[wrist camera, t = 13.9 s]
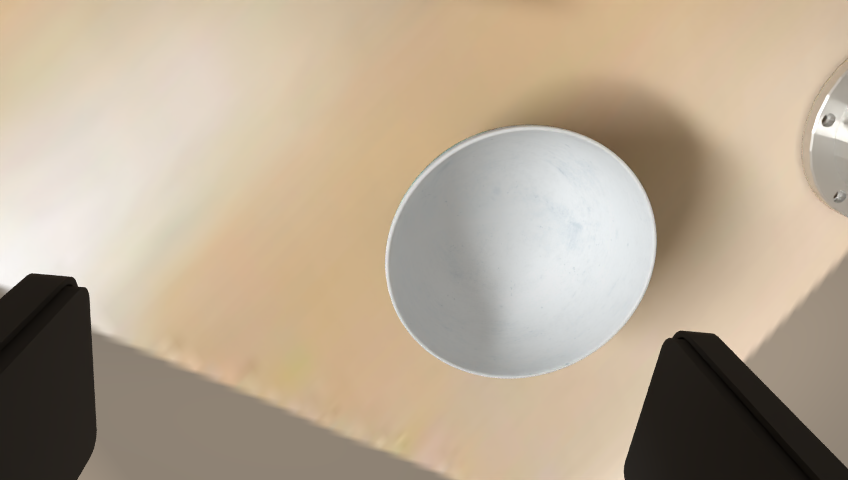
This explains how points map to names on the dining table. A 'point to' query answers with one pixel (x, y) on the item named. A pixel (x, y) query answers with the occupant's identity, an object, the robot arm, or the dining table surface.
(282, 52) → the dining table surface
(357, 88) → the dining table surface
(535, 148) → the chinaware
